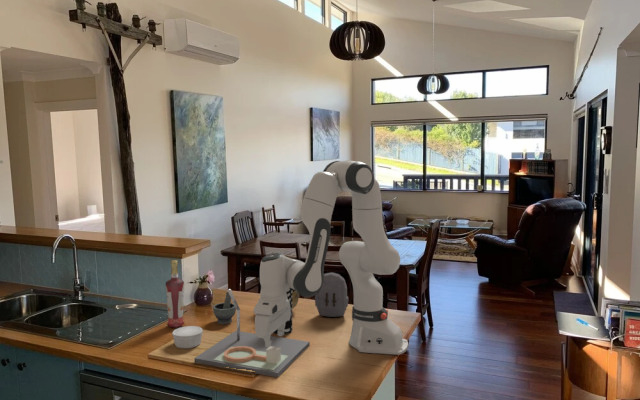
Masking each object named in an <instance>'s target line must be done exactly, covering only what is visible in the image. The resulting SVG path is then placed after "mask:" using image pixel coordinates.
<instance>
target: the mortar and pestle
mask: <svg viewBox="0 0 640 400" xmlns="http://www.w3.org/2000/svg"><path fill="white" fill-rule="evenodd" d="M232 294H233V292H232ZM233 295H234V294H233ZM212 312H213V314H214V316H215V318H216V319H217V321H216V322H217V323H218V324H220V325H228V324H230V323H232V322H233V319H232V318H233V317H234V316H235V315H236V313H237V310H236V307H235V305H234V303H233V302H232V299H231V297H230V295H229V293H228V291H226V292H225V298H224V302H219V303H216V304H214V305H213V306H212Z"/></svg>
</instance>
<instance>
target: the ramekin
mask: <svg viewBox="0 0 640 400" xmlns="http://www.w3.org/2000/svg"><path fill="white" fill-rule="evenodd" d="M203 333H204V330H203V328H202V327H200V326H196V325H187V326H181V327H179V328H174V330H173V331H172V337H173V342H174V345H175V347H176V348H178V349H192V348H195V347H198V346H199V345H200V344H201V342H202V336H203Z"/></svg>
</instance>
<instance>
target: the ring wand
mask: <svg viewBox="0 0 640 400" xmlns="http://www.w3.org/2000/svg"><path fill="white" fill-rule="evenodd" d="M241 350H244V351H250V352H251V353H252V354H251V355H250V356H247V357H244V358H234V357H230V356H228V354H229V353H231V352H234V351H241ZM224 359H226V360H227V361H229V362H235V363H238V362H246V361H250V360H252V359H258V360H263V361H266V362H268V363H274V364H278V363H279V362H280V361H281V348H278V347H272V346H270V347H269V348H267V349H266V356H263V355H257V354H256V350H255V349H254V348H252V347H247V346H236V347H232V348H229V349H227V350H226V351H225V352H224Z"/></svg>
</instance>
